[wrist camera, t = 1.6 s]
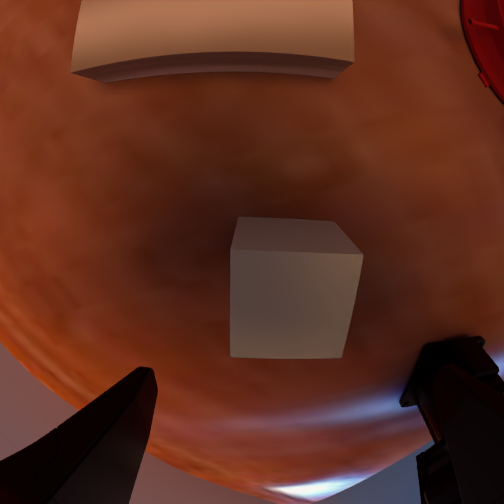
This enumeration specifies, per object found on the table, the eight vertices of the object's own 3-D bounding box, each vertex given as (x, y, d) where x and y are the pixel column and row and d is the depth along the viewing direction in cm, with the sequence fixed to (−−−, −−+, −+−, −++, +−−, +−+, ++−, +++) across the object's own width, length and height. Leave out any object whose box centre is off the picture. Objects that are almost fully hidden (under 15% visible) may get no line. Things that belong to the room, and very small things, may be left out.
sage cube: (322, 303, 17) (341, 357, 13) (236, 300, 17) (230, 356, 13) (333, 220, 16) (363, 254, 11) (238, 216, 16) (230, 249, 11)
